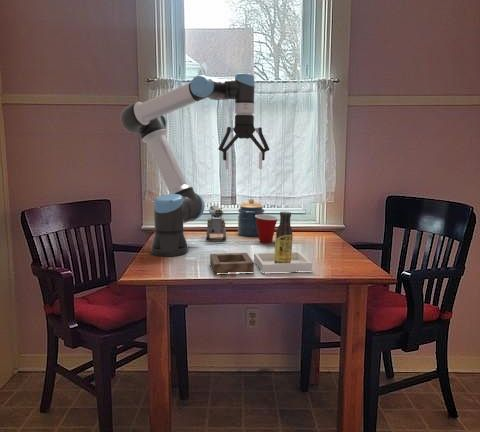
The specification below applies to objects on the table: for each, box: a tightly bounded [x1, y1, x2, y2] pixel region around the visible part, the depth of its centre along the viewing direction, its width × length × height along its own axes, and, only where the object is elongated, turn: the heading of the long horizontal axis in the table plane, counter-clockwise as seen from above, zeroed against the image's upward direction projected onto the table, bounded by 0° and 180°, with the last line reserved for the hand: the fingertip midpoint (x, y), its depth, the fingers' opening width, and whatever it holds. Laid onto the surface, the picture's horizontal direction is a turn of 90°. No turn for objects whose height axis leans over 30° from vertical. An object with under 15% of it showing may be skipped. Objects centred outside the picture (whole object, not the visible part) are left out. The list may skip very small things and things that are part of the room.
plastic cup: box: [255, 214, 279, 244], centre depth 208 cm, size 11×11×12 cm
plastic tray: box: [253, 251, 313, 273], centre depth 170 cm, size 18×16×4 cm
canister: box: [237, 198, 265, 237], centre depth 224 cm, size 13×13×18 cm
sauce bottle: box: [274, 211, 294, 264], centre depth 168 cm, size 6×6×20 cm
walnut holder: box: [209, 252, 255, 275], centre depth 167 cm, size 14×14×4 cm
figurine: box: [205, 205, 227, 241], centre depth 213 cm, size 9×12×15 cm
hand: (243, 168), depth 183 cm, fingers open, 13 cm apart
